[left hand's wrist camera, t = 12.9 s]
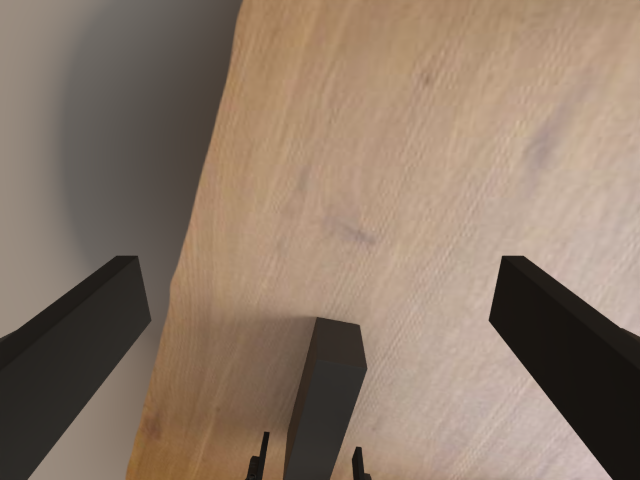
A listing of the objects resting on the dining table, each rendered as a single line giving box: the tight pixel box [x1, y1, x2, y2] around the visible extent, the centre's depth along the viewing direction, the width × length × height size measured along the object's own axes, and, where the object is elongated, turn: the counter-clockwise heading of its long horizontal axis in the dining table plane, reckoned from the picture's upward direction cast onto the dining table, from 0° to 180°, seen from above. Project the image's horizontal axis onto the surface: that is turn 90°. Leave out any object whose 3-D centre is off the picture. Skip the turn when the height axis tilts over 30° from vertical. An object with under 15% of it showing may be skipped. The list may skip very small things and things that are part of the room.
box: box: [283, 317, 367, 480], centre depth 49 cm, size 23×6×9 cm, turn 168°
